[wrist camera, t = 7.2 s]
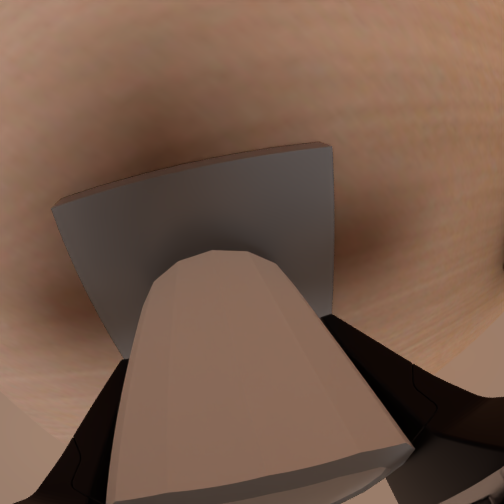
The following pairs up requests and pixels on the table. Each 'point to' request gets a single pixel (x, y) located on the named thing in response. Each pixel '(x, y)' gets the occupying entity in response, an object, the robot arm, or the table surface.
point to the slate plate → (203, 226)
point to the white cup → (243, 396)
